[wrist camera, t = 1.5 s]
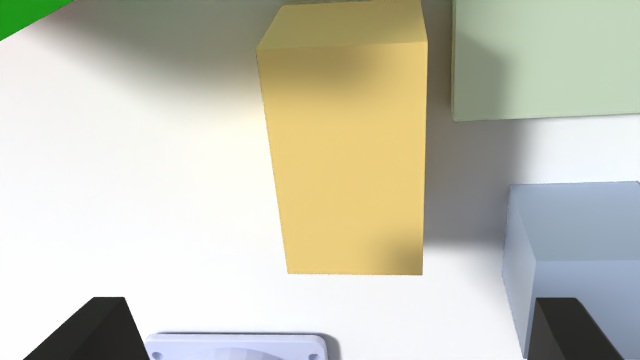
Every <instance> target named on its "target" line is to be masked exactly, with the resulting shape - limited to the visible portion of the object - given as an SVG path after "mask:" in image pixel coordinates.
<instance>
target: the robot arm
mask: <svg viewBox="0 0 640 360" xmlns="http://www.w3.org/2000/svg"><path fill="white" fill-rule="evenodd" d="M314 354H317V355H314ZM23 360H328V355H327V348H326V343H325V340H324V339H322V338H321V337H319V336H316V335H227V334H152V335H149V336H148V337H147V339H146V341H145V343H143V341H142V339H141V336H140V334H139V331H138V329H137V327H136V324H135V322H134V319H133V317H132V314H131V312H130V310H129V307H128V305H127V302H126V300H125V298H124V297H93V298H92V299H91V300H90V301H88V302H87V303H86V304H85V305H84V306H82V307H81V308H80V309H79V310H78V311H77V312H75V313H74V314H73V315H72V316H71V317H70V318H69V319H68V320H66V321H65V322H64V323H63V324H62V325H61V326H60V327H59V328H58V329H56V330H55V331H54V332H53V333H52V334H51V335H50V336H49V337H48V338H47V339H45V340H44V341H43V342H42V343H41V344H40V345H39V346H38V347H37V348H36V349H34V350H33V351H32V352H31V353H30V354H29V355H28V356H27V357H25V358H24V359H23ZM527 360H624V359H623V357H622V356H621V355H620V353H619V352H618V351H617V350H616V348H615V347H614V346H613V344H612V343H611V342H610V341H609V339H608V338H607V337H606V335H605V334H604V333H603V331H602V330H601V329H600V327H599V326H598V325H597V323H596V322H595V321H594V319H593V318H592V317H591V315H590V314H589V313H588V311H587V310H586V308H585V307H584V306H583V304H582V303H581V302H580V301H579V300H578V299H577V298H575V297H536V301H535V308H534V315H533V322H532V330H531V337H530V344H529V351H528V359H527Z"/></svg>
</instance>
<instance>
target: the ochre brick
mask: <svg viewBox="0 0 640 360" xmlns="http://www.w3.org/2000/svg"><path fill="white" fill-rule="evenodd" d="M256 56H257V63H258V70H259V77H260V84H261V91H262V98H263V105H264V112H265V119H266V125H267V132H268V139H269V146H270V153H271V160H272V167H273V174H274V181H275V188H276V195H277V202H278V209H279V215H280V222H281V229H282V236H283V243H284V250H285V257H286V264H287V271H288V274H352V275H422V267H423V225H424V183H425V141H426V99H427V57H428V40H427V34H426V29H425V23H424V17H423V12H422V6H421V0H370V1H351V2H332V3H313V4H294V5H282V6H281V7H280V9H279V11H278V12H277V14H276V16H275V17H274V19H273V21H272V23H271V24H270V26H269V28H268V29H267V31H266V33H265V34H264V36H263V38H262V39H261V41H260V43H259V44H258V46H257V48H256Z"/></svg>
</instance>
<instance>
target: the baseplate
mask: <svg viewBox="0 0 640 360" xmlns="http://www.w3.org/2000/svg"><path fill="white" fill-rule="evenodd" d="M451 111H452V116H453V120H454V122H460V121H481V120H502V119H522V118H543V117H564V116H585V115H606V114H627V113H640V0H453V13H452V67H451Z"/></svg>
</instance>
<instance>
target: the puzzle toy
mask: <svg viewBox="0 0 640 360" xmlns="http://www.w3.org/2000/svg"><path fill="white" fill-rule="evenodd" d="M71 1H73V0H0V41H1V40H3V39H5V38H7V37H8V36H10V35H12V34H14V33H16V32H17V31H19V30H21V29H23V28H25V27H26V26H28V25H30V24H32V23H34V22H35V21H37V20H39V19H41V18H43V17H44V16H46V15H48V14H50V13H52V12H53V11H55V10H57V9H59V8H61V7H62V6H64V5H66V4H68V3H70V2H71Z"/></svg>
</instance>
